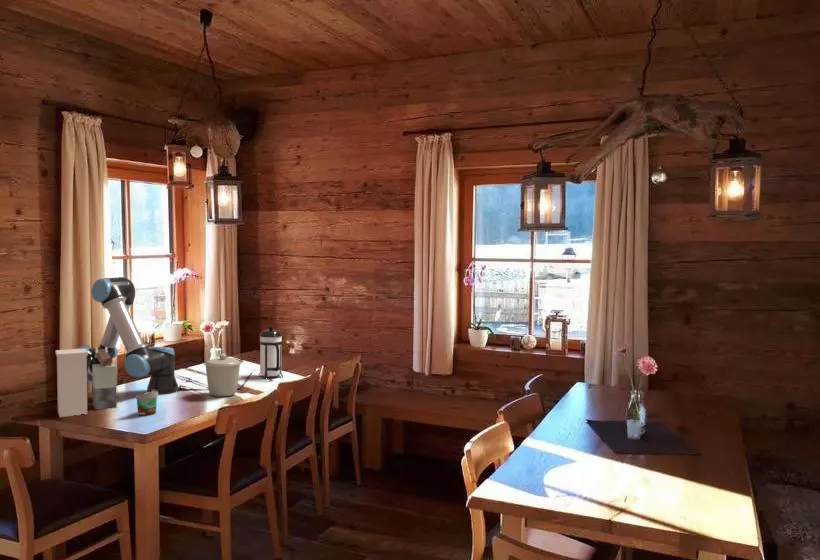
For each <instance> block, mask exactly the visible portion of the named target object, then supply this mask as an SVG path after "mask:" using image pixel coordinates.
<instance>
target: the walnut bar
mask: <svg viewBox="0 0 820 560" xmlns="http://www.w3.org/2000/svg"><path fill="white" fill-rule="evenodd" d="M97 359H98V360H99V362H100V363H101V364H102V366H112V362H111V357H110V356H109V355H108V354H107V352H106V351H105V350H104V349H98V354H97Z"/></svg>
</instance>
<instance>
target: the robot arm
mask: <svg viewBox="0 0 820 560" xmlns="http://www.w3.org/2000/svg"><path fill="white" fill-rule="evenodd" d="M91 297H92V299H93V300H94V301H96V302H97V303H101V305H102V308H103V309H106V310H107V311H108V313H109V318H108V321H107V323H106V327H105V330H104V333H103V335H102V339H101V341H100V344H99V347H94V348H93V347H92V348H91V346H90V345H89V344H83V345H81V346H79V347H77V348H76V349H86V350H87V352H88V356H87V382H89V383H90V384H93V378H92V364H101V363H100V362H99V360H98V359H97V354H98V349H104V350H105V351H106V352H107V354H108V355H109V356H110V357H111V362H112V363H114V362H113V359H115V358H116V357H118V348H117V342H118V340H119V338H120V339H121V342H122V344H123V346H124V348H125V350H126V353H125V355H124V356H125V360H124V369H125V371H126V373H128V374H129V375H130V376H131V377H134V378H143V377H144V378H145V377H147V376H150V378H149V381H148V385H147V387H146V392H150V391H151V389H155V390H157V391H158V394H159V395H166V394H168V395H169V394H173V392H174V393H176V391H177V390H178V391H179V385H178V382H177V379H176V376H175V369H176V368H175V361H176V360H175V357H176V354H175V349H174V348H173V347H169V346H168V347H167V346H151V347H150V346H149V345H147V344H145V343H144V340H143V339H142V337H141V335H140V332H139V330H138V329H137V326H136V324H135V322H134V319H133V318H132V315H131V312H130V311H129V310H130V306H132V305H133V304H134V301H135V298H136V287H135V285H134V283H133V282H132V281H131V280H130V279H129V278H127V277H123V276H119V277H102V278H98V279H97V280H95V281H94V282H93V284H92V288H91ZM178 391H177V392H178Z"/></svg>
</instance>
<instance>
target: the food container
mask: <svg viewBox="0 0 820 560" xmlns="http://www.w3.org/2000/svg"><path fill="white" fill-rule="evenodd" d="M159 395H160V394H158V391H157V390H155V389H151V391H150V392H147V391H146V392H143V393H142V394H136V397H135V400H136V405H137V406H136V407H137V417H147V416H153V415H156V413H157V403H158V401H157V399H158V397H159Z"/></svg>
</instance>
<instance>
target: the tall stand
mask: <svg viewBox="0 0 820 560" xmlns="http://www.w3.org/2000/svg"><path fill="white" fill-rule="evenodd" d="M55 356H56V377H57V378H56V380H57V383H56V384H57V390H56V391H57V414H58V416H59V418H65V417H74V415H76V416H82V415H81V414H85V415H88V380H87V356H88V352H87V350H86V349H77V348H72V349H71V348H70V349H59V350H58V349H56V350H55Z"/></svg>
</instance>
